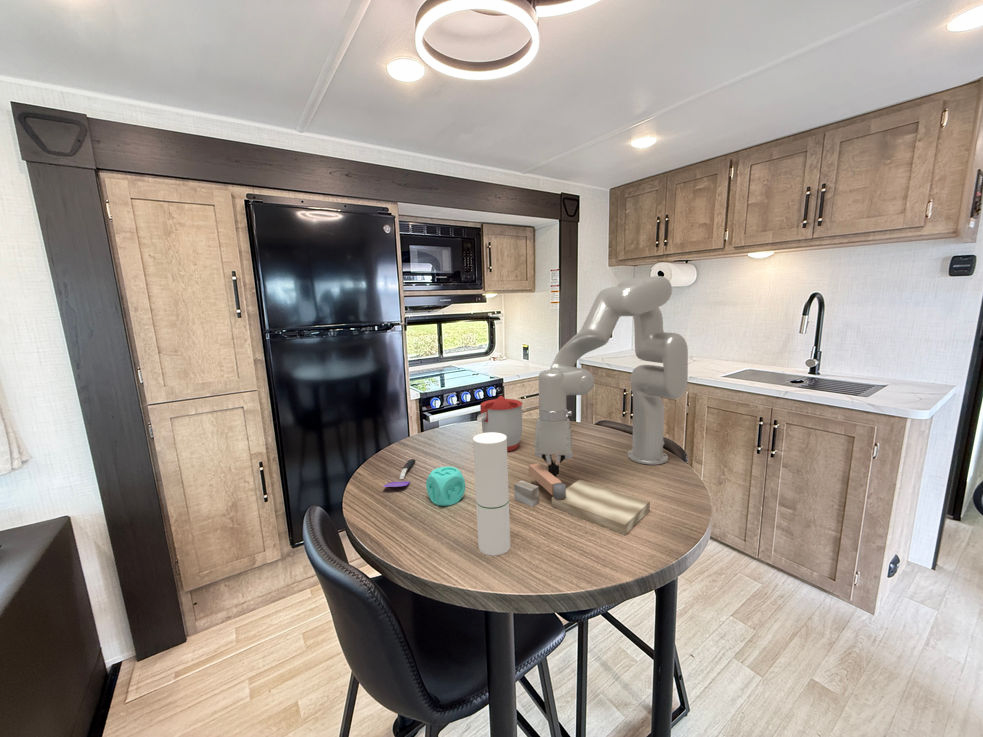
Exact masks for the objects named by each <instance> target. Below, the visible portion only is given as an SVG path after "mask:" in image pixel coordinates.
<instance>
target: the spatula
mask: <svg viewBox="0 0 983 737" xmlns="http://www.w3.org/2000/svg"><path fill="white" fill-rule="evenodd" d="M415 463H416V460H415V459H414V458H411V459H409V460H407V462H406V463H405V464H404V465H403V467H402V470H401V472H400V475H399V479H404V480H405V476H406V473H407V471H408V470H409V469H411V468H412V467H413V465H414V464H415ZM410 483H411V482H410V481H391V483H390V482H388V483H387V484H385V485H383V486H382V487H383V488H389V487H391V488H393V487H394V488H397V487H405V486H408V485H409V484H410Z"/></svg>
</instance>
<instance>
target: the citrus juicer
mask: <svg viewBox="0 0 983 737" xmlns="http://www.w3.org/2000/svg"><path fill="white" fill-rule="evenodd" d="M522 406H523V402H522V401H521V400H518V399H514V398H513V399H512V398H505V397H504V396H503V395H499V396H498V397H497V398H493V399H489V400H485V401H482V402H481V403H480V414H478V415H477V418H476V420H477V422H478V423H481V428H482V429H481V430H482V433H488V432H496V433H502V434H504V435H506V437H507V452H511V451H514V450H516V449H518V447H519V446H520V443H521V438H522V434H523V433H522V432H523V413H522V412H523V410H522V409H523V407H522Z"/></svg>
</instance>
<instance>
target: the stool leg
mask: <svg viewBox="0 0 983 737" xmlns="http://www.w3.org/2000/svg"><path fill="white" fill-rule="evenodd" d="M528 470H529V471H528V472H529V473H528V474H529V476H530V477H532V479H534V480H535V481H536V482H537V484H539V485H540V486H541V487H543V489H545V491H547V492H548V493H549V494H550V495H551V496H553V497H554V498H556V499H564V498H566V488H567V485H566V484H565V483H563V482H562V481H561V480H560V479H559V478H556V477H555V476H554V475H552V474H551V473H550V472H549V471H548V470H547V469H546V468H545V467H544V466H543V465H541V464H540V463H539V462H537V463H532V464H529V465H528Z"/></svg>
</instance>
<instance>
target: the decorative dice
mask: <svg viewBox="0 0 983 737" xmlns="http://www.w3.org/2000/svg"><path fill="white" fill-rule="evenodd" d="M465 481H466V480H465V477H464V475H463V473H462V472H461V470H460V469H458V468H457V467H454V466H441V467H437V468H434V469H432V471H431V472H430V473H429V474H428V476H427V479H426V481H425V483H426V484H425V485H426V486H425V488H426V492H427V495H428V497H429V499H430V501H431V502H432V503H433V504H435V505H437V506H440V507H446V506H447V507H448V506H451V505H452V506H453V505H455V504H457V503H458V502H460V500H461V499H462V498H463V497H464V494H465V491H466V482H465Z"/></svg>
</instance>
